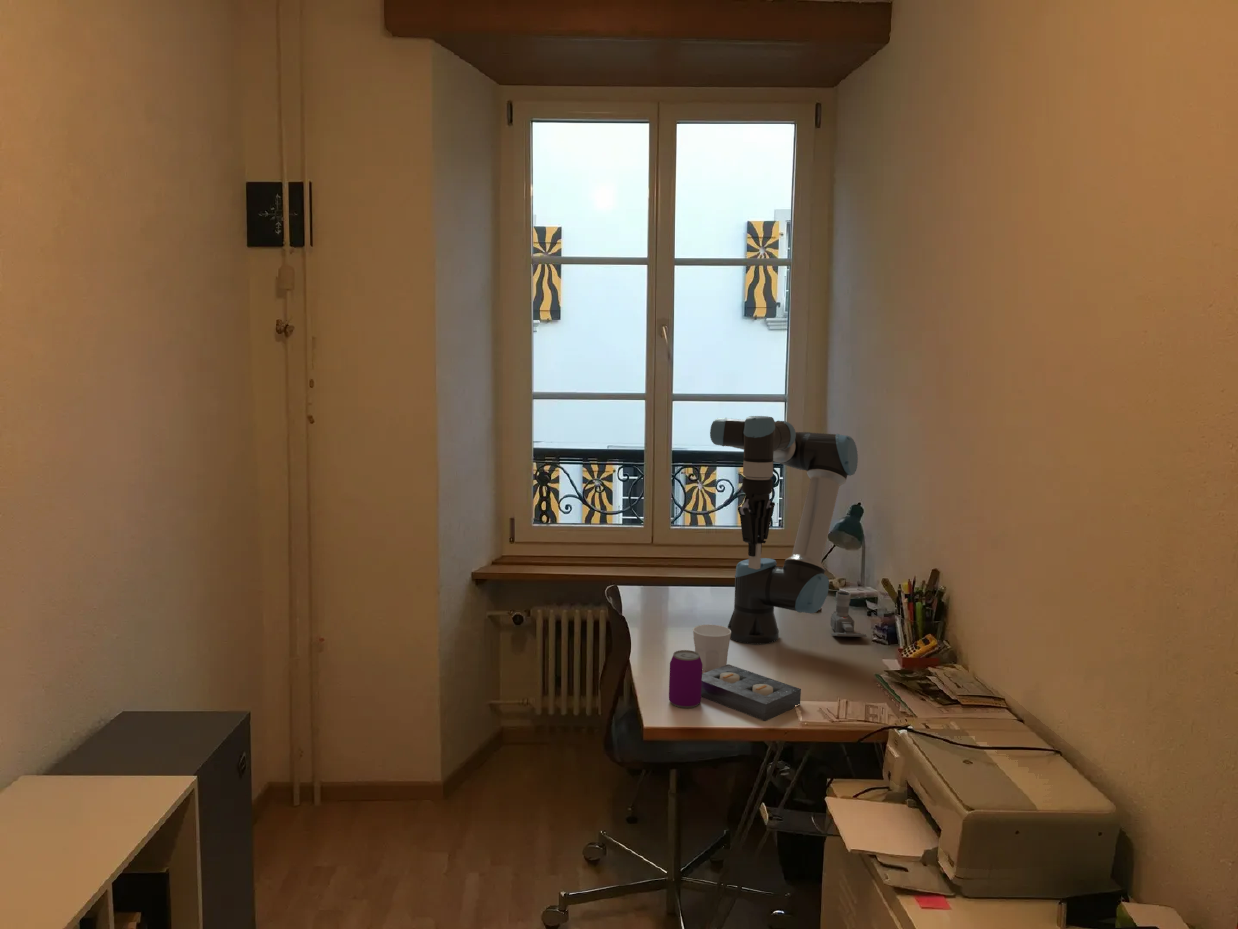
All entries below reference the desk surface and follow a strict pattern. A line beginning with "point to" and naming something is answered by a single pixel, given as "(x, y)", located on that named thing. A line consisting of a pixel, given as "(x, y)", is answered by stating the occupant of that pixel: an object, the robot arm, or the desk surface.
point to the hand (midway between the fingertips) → (754, 567)
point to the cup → (712, 645)
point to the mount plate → (749, 693)
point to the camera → (843, 617)
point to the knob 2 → (763, 689)
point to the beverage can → (685, 679)
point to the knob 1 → (729, 677)
